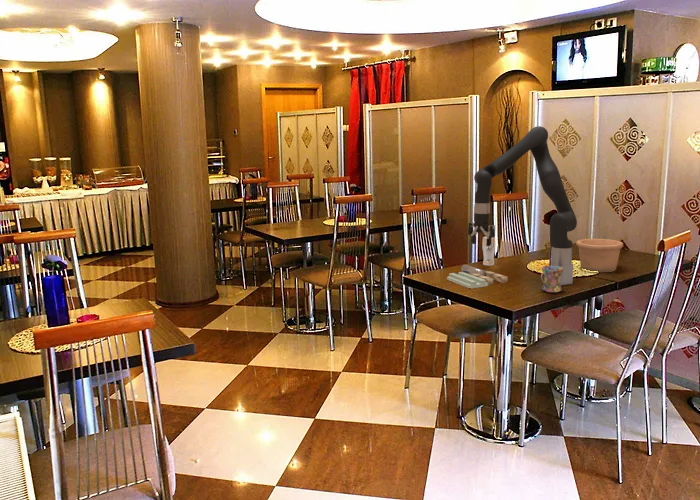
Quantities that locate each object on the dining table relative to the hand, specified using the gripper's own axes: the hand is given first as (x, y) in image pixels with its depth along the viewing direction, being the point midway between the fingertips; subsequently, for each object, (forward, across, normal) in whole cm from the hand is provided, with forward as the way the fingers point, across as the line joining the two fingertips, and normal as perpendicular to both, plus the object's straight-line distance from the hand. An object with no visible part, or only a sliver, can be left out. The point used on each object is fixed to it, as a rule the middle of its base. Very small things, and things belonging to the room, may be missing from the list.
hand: (481, 244), depth 288 cm
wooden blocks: (+17, -5, +1) cm, 17 cm away
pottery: (+16, -34, -54) cm, 66 cm away
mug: (+16, -38, +1) cm, 41 cm away
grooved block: (+17, -1, +12) cm, 21 cm away
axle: (+15, +7, -4) cm, 17 cm away
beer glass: (+17, +15, -28) cm, 37 cm away
